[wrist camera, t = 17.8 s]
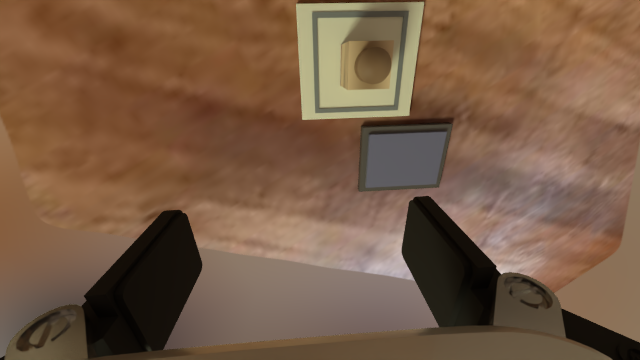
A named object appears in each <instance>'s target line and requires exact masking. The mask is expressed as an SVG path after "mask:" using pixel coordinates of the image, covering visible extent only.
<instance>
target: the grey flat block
mask: <svg viewBox="0 0 640 360" xmlns="http://www.w3.org/2000/svg"><path fill="white" fill-rule="evenodd" d="M452 125H453V124H451V123H428V124H403V125H378V126H361V140H360V159H359V179H358V190H359V192H362V191H380V190H399V189H418V188H437V187H439V184H440V180H441V175H442V171H443V166H444V161H445V157H446V152H447V148H448V143H449V138H450V134H451V129H452Z"/></svg>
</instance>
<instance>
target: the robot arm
mask: <svg viewBox="0 0 640 360" xmlns="http://www.w3.org/2000/svg"><path fill="white" fill-rule="evenodd" d="M402 255H403V258H404V260H405V262H406V264H407V266H408V268H409V270H410V271H411V273H412V275H413V277H414V279H415V281H416V283H417V285H418V287H419V289H420V291H421V293H422V295H423V296H424V298H425V300H426V302H427V304H428V306H429V308H430V310H431V312H432V314H433V316H434V318H435V319H436V321H437V323H438V325H439V328H421V329H408V330H396V331H382V332H370V333H357V334H344V335H332V336H319V337H307V338H295V339H284V340H272V341H260V342H248V343H236V344H225V345H214V346H203V347H191V348H180V349H169V350H163V349H164V347H165V344H166V343H167V341H168V338H169V336H170V334H171V332H172V330H173V328H174V326H175V324H176V322H177V320H178V318H179V316H180V314H181V312H182V310H183V307H184V305H185V303H186V301H187V299H188V297H189V295H190V293H191V291H192V289H193V287H194V285H195V283H196V281H197V279H198V277H199V274H200V272H201V270H202V261H201V258H200V255H199V252H198V248H197V245H196V242H195V239H194V236H193V232H192V229H191V226H190V223H189V220H188V217H187V215H186V214H185V213H183V212H182V211H181V210H169V211H163V212H162V213H161V214H160V215H159V216H158V217H157V218H156V219H155V221H154V222H153V223H152V224H151V225H150V226H149V227H148V228H147V229H146V230H145V231H144V232H143V233H142V234H141V235H140V237H139V238H138V239H137V240H136V241H135V242H134V243H133V244H132V245H131V246H130V247H129V248H128V249H127V250H126V251H125V253H124V254H123V255H122V256H121V257H120V258H119V259H118V260H117V261H116V262H115V263H114V264H113V265H112V266H111V268H110V269H109V270H108V271H107V272H106V273H105V274H104V275H103V276H102V277H101V278H100V279H99V280H98V281H97V282H96V284H95V285H94V286H93V287H92V288H91V289H90V290H89V291H88V292H87V293H86V294H85V295H84V297H85V298H86V300H87V301H86V302H85V303H84V304H83V305H82V306H79V305H76V304H74V305H72V304H71V305H70V304H69V305H65V306H61V307H58V308H55V309H53V310H50V311H48V312H46V313H44V314H42V315H40V316H39V317H37V318H35V319H34V320H33V321H31V322H30V323H28V324H27V325H26V326H24V327H23V328H22V329H21V330H20V331H19V332H18V333H17V334H16V335H15V336H14V337H13V339H12V340H11V341H10V343H9V345H8V347H7V350H6V355H5V356H3V357H2V358H0V360H640V343H639V342H637V341H635V340H632V339H630V338H628V337H625V336H623V335H621V334H619V333H616V332H614V331H612V330H609V329H607V328H605V327H602V326H600V325H598V324H596V323H593V322H591V321H589V320H587V319H584V318H582V317H580V316H577V315H575V314H573V313H571V312H568V311H566V310H564V309H561V306H560V302H559V300H558V298H557V297H556V296H555V294H554V293H553V292H552V291H551V290H550V289H549V288H548V287H546V286H545V285H544V284H542V283H541V282H539V281H537V280H536V279H533V278H531V277H529V276H526V275H523V274H519V273H512V272H509V273H503V274H502V275H501V274H500V273H499V271H498V270H497V269H496V267H497V266H496V265H495V264H494V263H493V262H492V261H491V260H490V259H489V258H488V257H487V256H486V255H485V254H484V253H483V252H482V251H481V250H480V249H479V248H478V246H477V245H476V244H475V243H474V242H473V241H472V240H471V239H470V238H469V237H468V236H467V235H466V234H465V233H464V232H463V231H462V230H461V229H460V228H459V227H458V226H457V225H456V223H455V222H454V221H453V220H452V219H451V218H450V217H449V216H448V215H447V214H446V213H445V212H444V211H443V210H442V209H441V208H440V207H439V206H438V205H437V204H436V203H435V202H434V200H433V199H432V198H431V197H429V196H421V197H414V199H413V200H411V201H410V202H409V207H408V213H407V219H406V225H405V232H404V238H403V244H402Z"/></svg>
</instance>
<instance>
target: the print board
mask: <svg viewBox="0 0 640 360" xmlns="http://www.w3.org/2000/svg"><path fill="white" fill-rule="evenodd" d="M423 8H424V2H387V3H318V4H296V12H297V30H298V48H299V66H300V85H301V103H302V120H308V119H334V118H361V117H387V116H409V111H410V104H411V96H412V89H413V82H414V74H415V67H416V59H417V52H418V45H419V37H420V30H421V23H422V15H423ZM385 40H394V47H393V57H392V67H391V77H390V87H389V89H365V90H347V89H345V88H343V87H342V86H340V77H341V45H342V44H344V43H346V42H348V41H385Z"/></svg>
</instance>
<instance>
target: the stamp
mask: <svg viewBox="0 0 640 360" xmlns="http://www.w3.org/2000/svg"><path fill="white" fill-rule="evenodd" d="M393 47H394V40H385V41H348V42H346V43H344V44H342V45H341V77H340V86H342V87H343V88H345V89H347V90H365V89H389V87H390V77H391V67H392V57H393Z"/></svg>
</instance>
